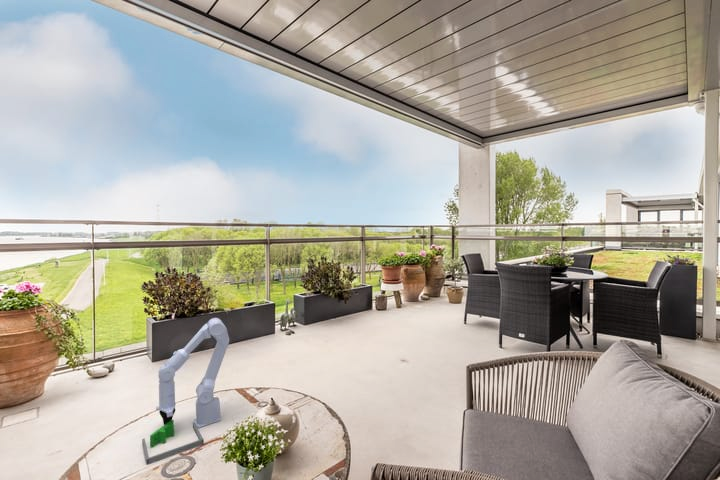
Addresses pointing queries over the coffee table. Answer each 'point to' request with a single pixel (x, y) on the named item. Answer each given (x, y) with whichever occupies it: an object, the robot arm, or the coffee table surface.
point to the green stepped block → (162, 434)
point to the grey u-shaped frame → (173, 451)
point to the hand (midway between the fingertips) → (167, 426)
